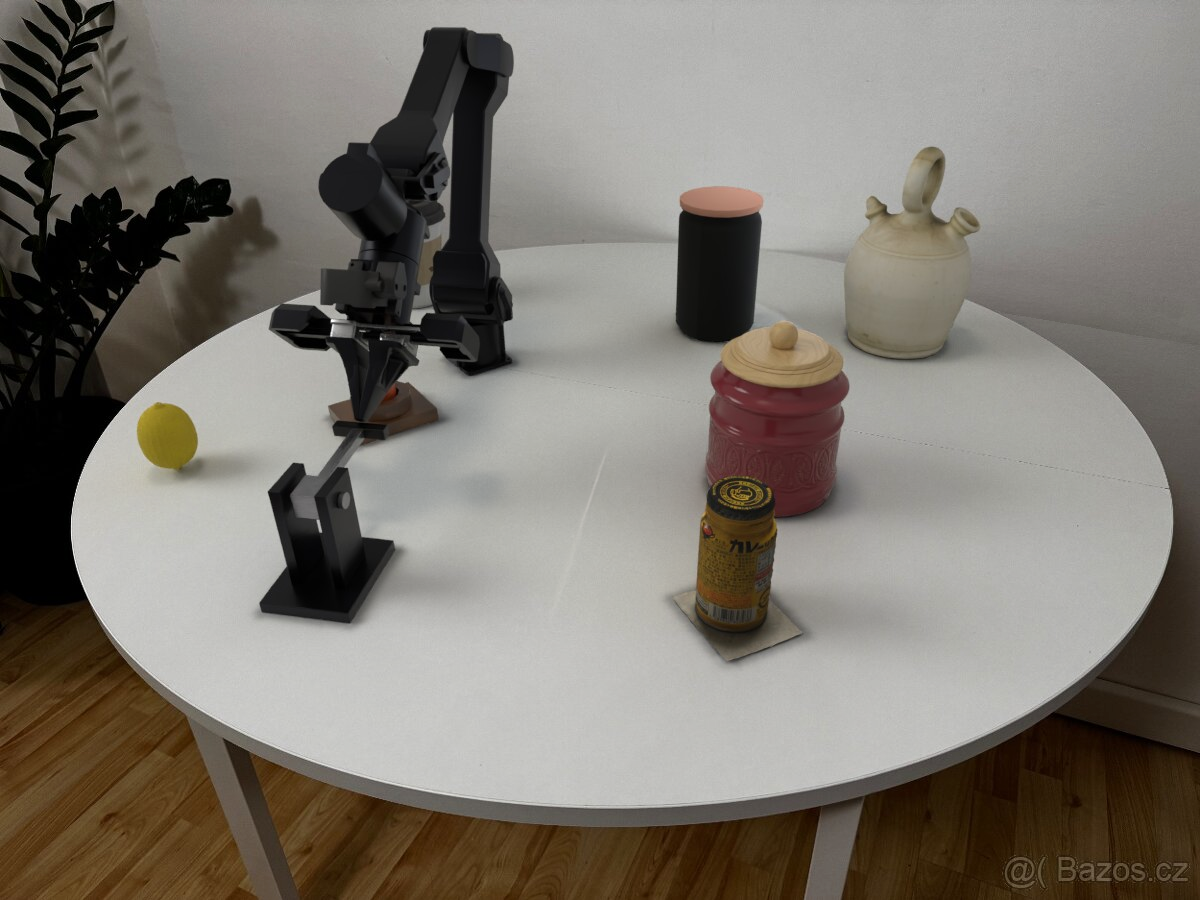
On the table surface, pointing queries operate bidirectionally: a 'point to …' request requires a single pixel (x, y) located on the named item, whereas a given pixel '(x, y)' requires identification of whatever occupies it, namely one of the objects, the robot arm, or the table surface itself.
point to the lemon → (167, 436)
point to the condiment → (737, 570)
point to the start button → (390, 394)
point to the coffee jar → (717, 262)
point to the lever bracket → (323, 552)
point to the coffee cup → (428, 248)
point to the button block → (393, 411)
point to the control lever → (334, 463)
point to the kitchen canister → (778, 414)
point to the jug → (909, 269)
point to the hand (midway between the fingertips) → (360, 421)
